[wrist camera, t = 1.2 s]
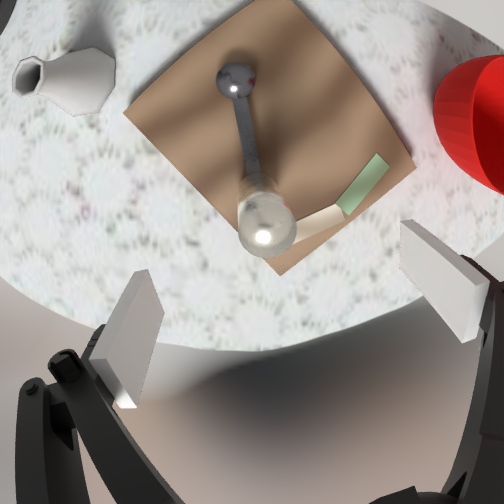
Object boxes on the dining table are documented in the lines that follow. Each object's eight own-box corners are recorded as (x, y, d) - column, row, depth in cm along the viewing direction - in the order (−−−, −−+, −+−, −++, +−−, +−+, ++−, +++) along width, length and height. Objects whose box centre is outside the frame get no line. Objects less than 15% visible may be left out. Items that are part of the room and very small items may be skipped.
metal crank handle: (211, 68, 24) (198, 47, 15) (253, 60, 23) (262, 35, 15) (247, 240, 30) (252, 297, 22) (284, 232, 30) (304, 287, 21)
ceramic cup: (468, 214, 32) (520, 249, 23) (387, 110, 27) (445, 116, 18) (518, 145, 28) (572, 164, 19) (449, 37, 23) (510, 28, 14)
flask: (66, 44, 22) (8, 29, 13) (127, 52, 24) (81, 31, 15) (47, 110, 25) (-15, 119, 16) (105, 123, 26) (52, 133, 17)
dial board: (128, 112, 26) (122, 113, 25) (275, -9, 22) (277, -14, 20) (278, 269, 34) (280, 276, 33) (409, 164, 30) (417, 168, 28)
